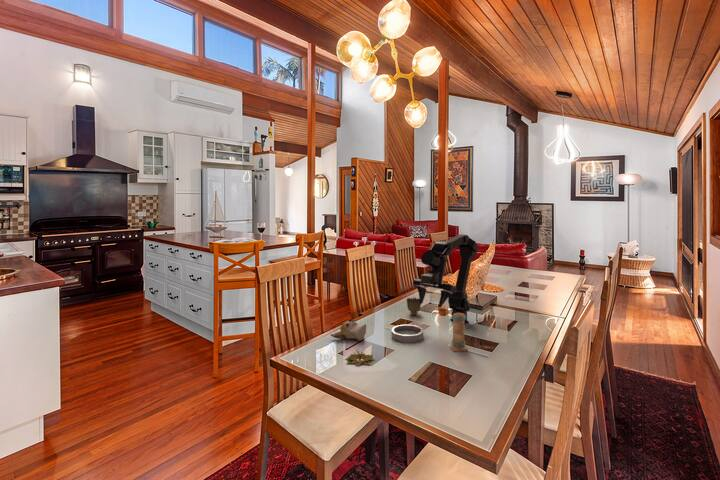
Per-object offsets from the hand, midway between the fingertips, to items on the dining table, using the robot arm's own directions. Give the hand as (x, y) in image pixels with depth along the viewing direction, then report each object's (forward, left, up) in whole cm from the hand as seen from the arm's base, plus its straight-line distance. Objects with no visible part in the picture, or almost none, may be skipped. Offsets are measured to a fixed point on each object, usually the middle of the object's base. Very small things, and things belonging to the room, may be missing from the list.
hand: (430, 305), depth 164 cm
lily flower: (+36, +10, -15) cm, 40 cm away
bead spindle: (-4, +15, -14) cm, 21 cm away
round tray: (+9, -4, -14) cm, 17 cm away
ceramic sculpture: (+32, -12, -14) cm, 37 cm away
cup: (-8, -30, -14) cm, 34 cm away
